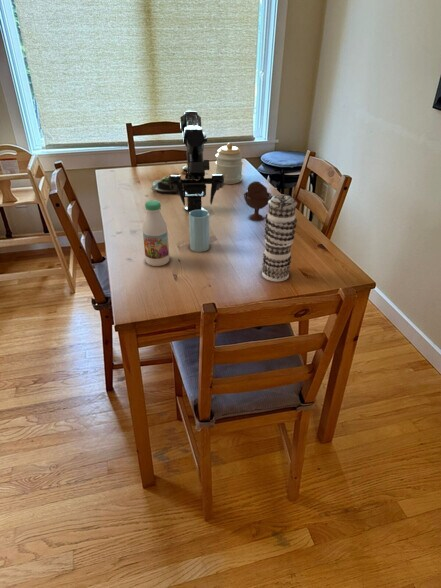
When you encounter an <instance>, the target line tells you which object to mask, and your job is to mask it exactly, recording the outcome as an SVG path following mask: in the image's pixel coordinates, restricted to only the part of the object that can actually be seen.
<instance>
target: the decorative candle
mask: <svg viewBox="0 0 441 588" xmlns="http://www.w3.org/2000/svg"><path fill="white" fill-rule="evenodd" d="M268 203H269V204H268V211H267V213H266V214H265V217H264V219H265V220H264V221H265V223H264V226H265V227H264V242H265V246H264V251H263V255H262V257H263V258H262V263H261V264H262V265H261V266H262V267H261V270H262V271H261V276H262V277H263V278H264V279H265V280H267V281H270V282H276V283H277V282H285V281H286V280H287V279H288V278H289V277H290V268H291V263H292V262H291V259H292V254H291V253H292V245H293V244H294V239H295V233H296V231H295V229H296V228H297V222H298V219H297V217H296V207H297V206H298V202H297V200H295V198H294V197H292V196H291V195H289V194H283V193H281V194H275V195H274V196H272V198H271V199H270V200H269V201H268Z"/></svg>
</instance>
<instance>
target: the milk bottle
mask: <svg viewBox="0 0 441 588" xmlns="http://www.w3.org/2000/svg"><path fill="white" fill-rule="evenodd" d="M144 207H145V211H146V213H145V214H146V215H145V218H144V220H143V223H142V238H143V249H144V257H145V262H146V263H147V264H148V266H153V267H160V266H164V265H167V264H168V263H169V261H170V243H169V233H168V226H167V223H166V221H165V218H164V217H163V215H162V212H161V210H162V205H161V201H159V200H156V199H155V200H154V199H152V200H147V201H145V203H144Z"/></svg>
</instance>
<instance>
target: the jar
mask: <svg viewBox="0 0 441 588" xmlns="http://www.w3.org/2000/svg"><path fill="white" fill-rule="evenodd" d="M215 158H216V160H215V174H222V175H223V176H224V184H223V185H235V184H238V183H240V182H242V179H243V160H242V159H243V158H244V155H243V154H242V149H240V148H239V147H238V146H233V144H232V143H231V142H228V143H227V144H226V145H223V146H221V147H220V148H218V149H217V153H216V154H215Z"/></svg>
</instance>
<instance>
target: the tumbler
mask: <svg viewBox="0 0 441 588" xmlns="http://www.w3.org/2000/svg"><path fill="white" fill-rule="evenodd" d="M210 216H211V215H210V212H209V211H208V210H206V209H205V210H193V211H190V212H188V238H189V240H188V241H189V249H190V250H191V251H193V252H197V253H203V252H206V251H208V250H209V249H210V246H211V245H210V243H211V238H210V237H211V236H210V234H211V233H210V225H211V224H210V218H211V217H210Z"/></svg>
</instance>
